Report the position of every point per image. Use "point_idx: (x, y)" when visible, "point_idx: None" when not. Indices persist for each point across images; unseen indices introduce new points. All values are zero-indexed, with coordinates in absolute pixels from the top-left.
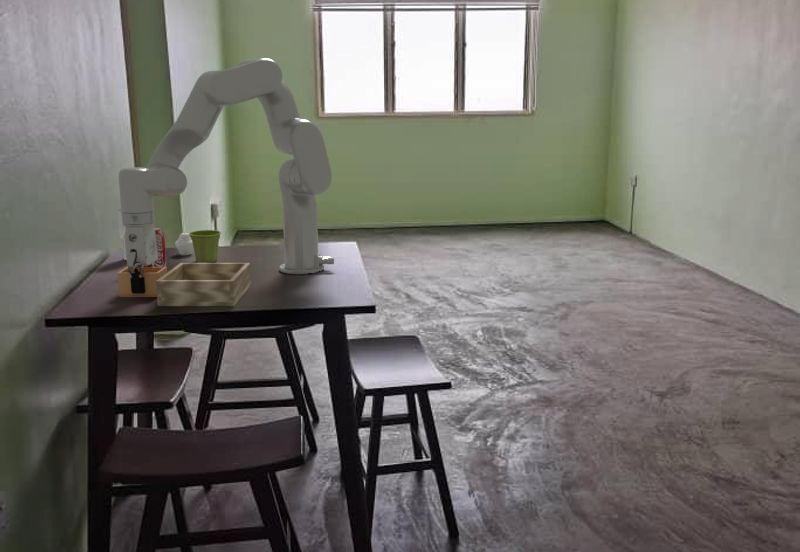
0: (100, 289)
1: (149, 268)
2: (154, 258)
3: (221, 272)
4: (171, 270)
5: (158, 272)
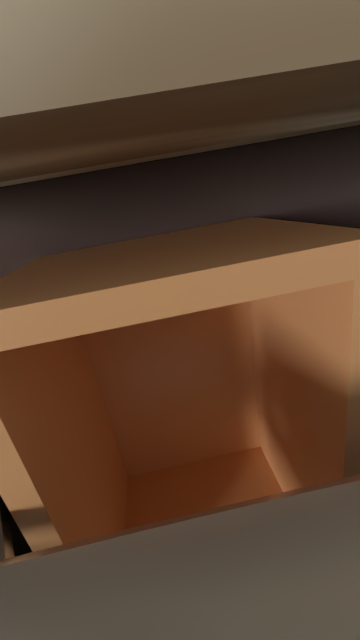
0: None
1: (55, 508)
2: (84, 630)
3: None
4: (191, 49)
5: (354, 248)
